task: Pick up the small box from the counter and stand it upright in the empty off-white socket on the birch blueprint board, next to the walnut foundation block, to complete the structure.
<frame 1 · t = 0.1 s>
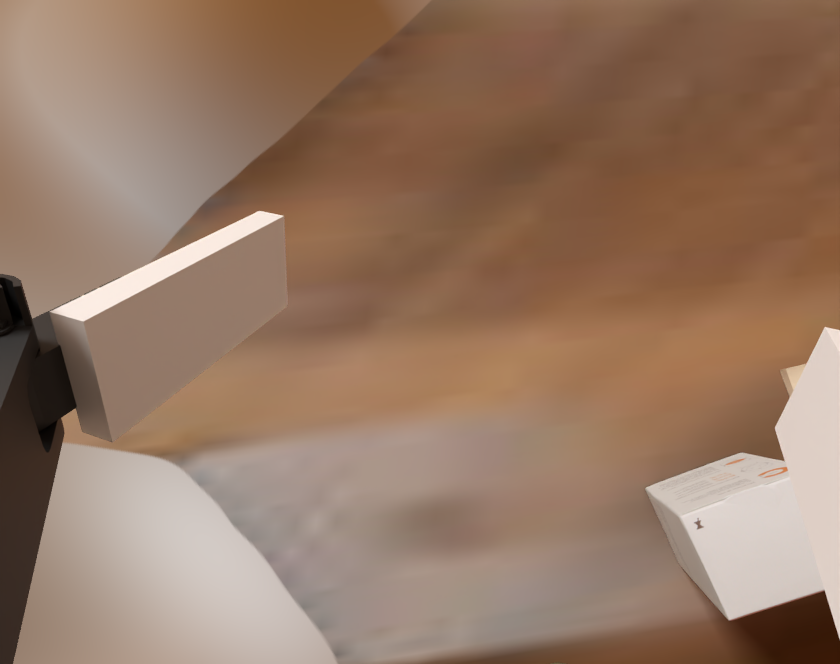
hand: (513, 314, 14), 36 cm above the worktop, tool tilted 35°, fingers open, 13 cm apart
small box: (710, 508, 45), on the worktop
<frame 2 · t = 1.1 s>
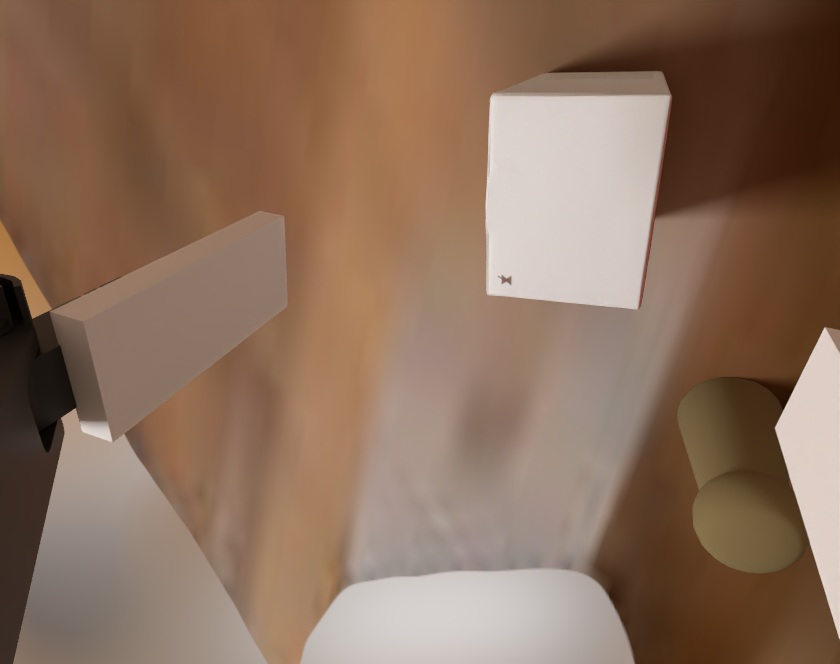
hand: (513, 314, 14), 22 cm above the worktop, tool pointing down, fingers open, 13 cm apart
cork: (728, 416, 37), on the worktop
small box: (595, 147, 32), on the worktop
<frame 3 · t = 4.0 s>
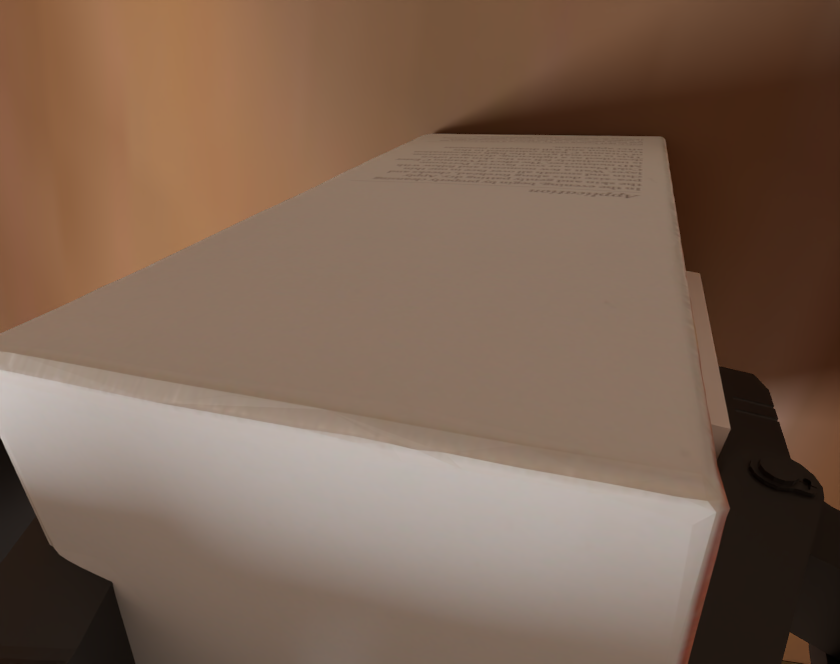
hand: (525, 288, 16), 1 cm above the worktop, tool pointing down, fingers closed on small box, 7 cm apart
small box: (534, 272, 17), on the worktop, touching gripper
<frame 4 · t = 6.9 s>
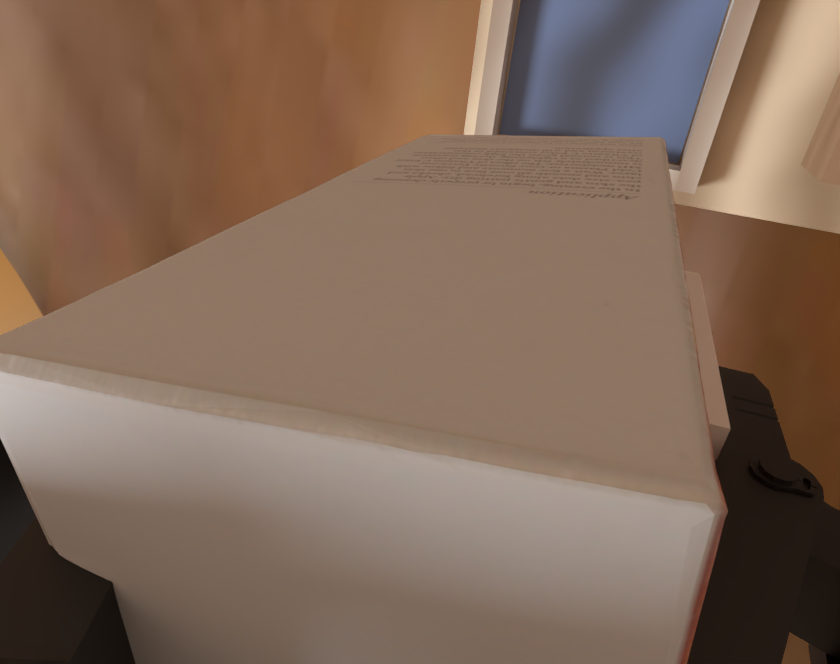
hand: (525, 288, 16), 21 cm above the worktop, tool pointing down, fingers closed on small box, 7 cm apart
blueprint board: (731, 64, 29), on the worktop
small box: (534, 272, 17), point 19 cm above the worktop, touching gripper
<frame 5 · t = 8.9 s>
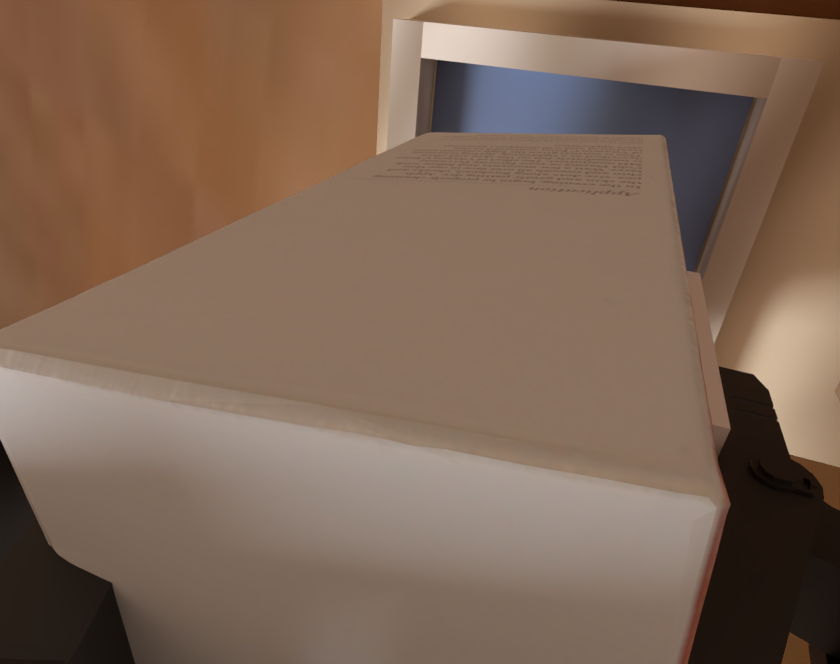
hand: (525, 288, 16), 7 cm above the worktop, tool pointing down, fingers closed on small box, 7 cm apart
blueprint board: (731, 246, 20), on the worktop
small box: (534, 271, 17), point 6 cm above the worktop, touching gripper
when the fingers open (4 cm above the worktop, at t = 10.2 s): small box drops 2 cm, resting on blueprint board.
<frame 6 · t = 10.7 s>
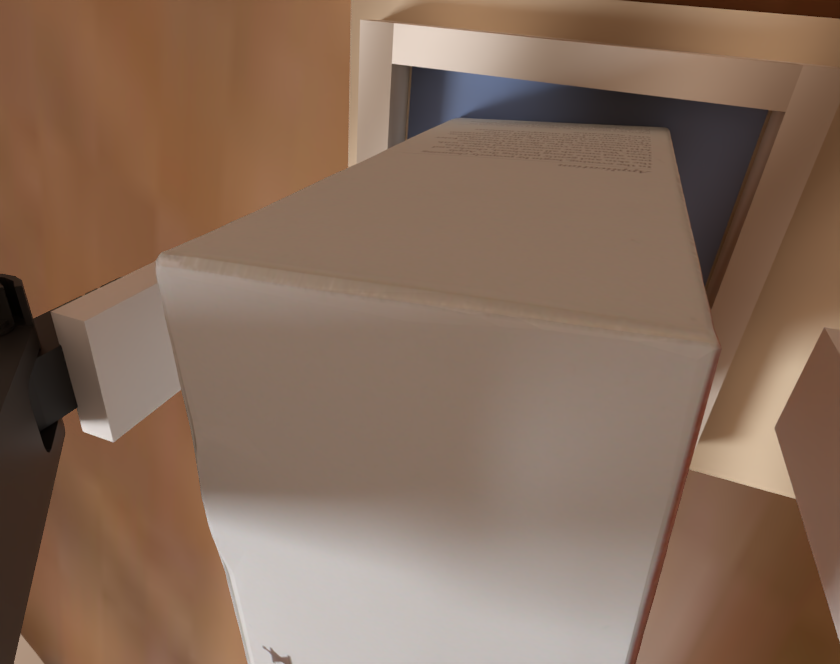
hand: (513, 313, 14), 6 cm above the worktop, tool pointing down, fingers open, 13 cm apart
blueprint board: (740, 273, 18), on the worktop
small box: (546, 247, 19), point 1 cm above the worktop, touching blueprint board
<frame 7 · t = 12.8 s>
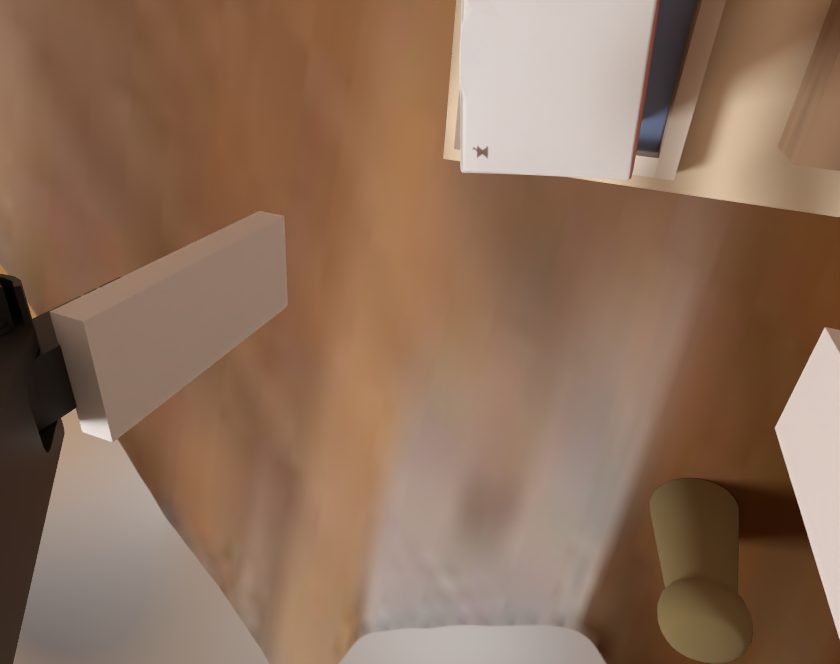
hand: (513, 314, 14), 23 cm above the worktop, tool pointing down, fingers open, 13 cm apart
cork: (692, 507, 43), on the worktop
blueprint board: (705, 50, 29), on the worktop
small box: (584, 40, 30), point 1 cm above the worktop, touching blueprint board
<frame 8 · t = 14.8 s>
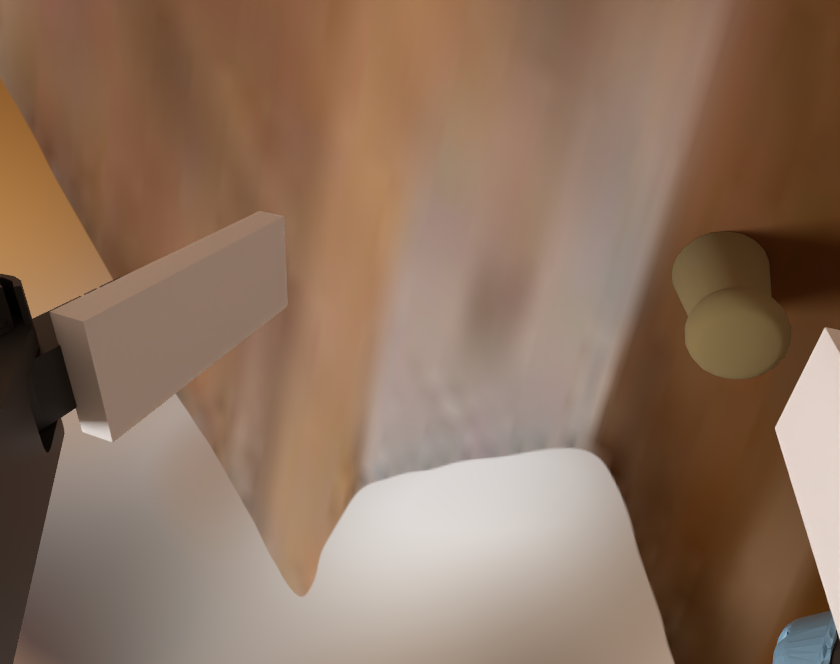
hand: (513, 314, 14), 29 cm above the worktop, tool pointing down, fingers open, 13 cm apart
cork: (719, 272, 40), on the worktop
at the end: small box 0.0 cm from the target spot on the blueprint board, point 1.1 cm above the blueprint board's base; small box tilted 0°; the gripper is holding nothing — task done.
